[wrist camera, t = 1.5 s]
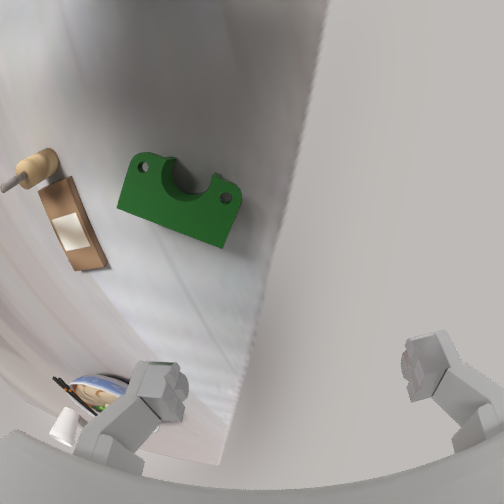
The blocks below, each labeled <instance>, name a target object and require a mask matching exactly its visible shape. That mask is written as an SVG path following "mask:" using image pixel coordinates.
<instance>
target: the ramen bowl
mask: <svg viewBox="0 0 504 504" xmlns="http://www.w3.org/2000/svg"><path fill="white" fill-rule="evenodd" d="M52 379H53V380H54V381H55V382H56V383H57V384H58V385H60V386H61V387H62V388H63V389H64V390H65V391H66V392H67V394H68V396H69V397H70V398H71V399H72V400H73V402H74V403H75V404H76V405H77V406H79V407H80V408H81V409H83V410H84V411H85V412H87V413H88V414H90V415H91V416H93V417H96V416H97V415H98V414H100V413H101V412H102V411H103V410H104V409H106V408H107V407H108V406H109V405H110V404H111V403H113V402H114V401H115V400H116V399H117V398H118V397H120V396H121V395H125V393H126V390H127V388H128V384H127V383H125V382H123V381H121V380H119V379H115V378H111V377H107V376H103V375H86V376H83V377H80V378H78V379H76V380H74V381H73V382H71V383H70V384H69V385H67V384H66V383H65V382H64V381H63V380H62V379H61V378H58V379H57V378H56V377H54V376H53V378H52ZM159 427H160V426H158V427H157V428H156V429H155V430H154V431H153V433H155V432H158V429H159Z"/></svg>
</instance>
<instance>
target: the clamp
mask: <svg viewBox="0 0 504 504" xmlns="http://www.w3.org/2000/svg"><path fill="white" fill-rule="evenodd" d="M176 159H177V158H175V157H162V156H160V155H157V154H154V153H150V152H144V153H139V154H137V155H135V156H134V157H133V158H132V160H131V162H130V165H129V168H128V171H127V174H126V177H125V181H124V184H123V187H122V191H121V194H120V198H119V201H118V205H117V208H118V209H120V210H123V211H125V212H128V213H131V214H133V215H136V216H138V217H141V218H143V219H146V220H149V221H151V222H154V223H156V224H159V225H161V226H164V227H167V228H169V229H172V230H174V231H177V232H180V233H182V234H185V235H187V236H190V237H193V238H195V239H198V240H200V241H203V242H206V243H208V244H211V245H214V246H216V247H219V248H221V249H222V248H223V246H224V243H225V241H226V239H227V236H228V234H229V231H230V229H231V226H232V224H233V222H234V219H235V217H236V214H237V212H238V210H239V207H240V205H241V202H242V193H241V190H240V188H239V187H238V186H237V185H236V184H234V183H232V182H229V181H227V180H224V179H222V178H220V176H221V175H220V174H218V173H215V174H214V175H213V176H212V181H211V185H210V187H209V189H208V190H206V191H205V192H203V193H200V194H188V193H185V192H183V191H181V190H180V189H179V188H178V187H177V186H176V184H175V183H174V180H173V177H172V169H173V165H174V163H175V161H176ZM144 162H146V163H147V164H148V166H149V168H148V171H147V172H145V171H144V170H143V168H142V165H143V163H144ZM225 192H227V193H230V194H231V196H232V199H231V200H230V201H229V202H225V201H223V200H222V199H221V194H222V193H225Z"/></svg>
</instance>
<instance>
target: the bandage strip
mask: <svg viewBox="0 0 504 504" xmlns="http://www.w3.org/2000/svg"><path fill="white" fill-rule="evenodd" d="M38 193H39V196H40V198H41V201H42V203H43V206H44V208H45V211H46V213H47V215H48V218H49V220H50V222H51V224H52V227H53V229H54V231H55V233H56V235H57V237H58V239H59V242H60V244H61V246H62V248H63V250H64V252H65V254H66V256H67V258H68V259H69V261H70V263H71V265H72V267H73V269H74V271H80V270H87V269H94V268H101V267H105V265H106V264H107V262H108V261H107V259H106V257H105V255H104V253H103V251H102V249H101V247H100V245H99V242H98V240H97V238H96V236H95V234H94V231H93V229H92V227H91V224H90V222H89V220H88V217H87V215H86V213H85V210H84V208H83V205H82V203H81V200H80V198H79V195H78V192H77V190H76V187H75V184H74V182H73V179H72V176H70V177H67V178H65V179H62V180H60V181H58V182H55V183H53V184H51V185H48V186H46V187H44V188H42V189H41V190H39V191H38Z"/></svg>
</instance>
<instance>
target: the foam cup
mask: <svg viewBox="0 0 504 504" xmlns="http://www.w3.org/2000/svg"><path fill="white" fill-rule="evenodd" d="M78 420H79V414H78V413H76V412H75V411H73V410H72V409H70V408H67V407H64V409H63V410H62V412H61V414H60V415H59V417H58V419H57V420H56V422H55V424H54V426H53V427H52V428H51V430H50V433H49V434H50V436H52V437H53V438H55V439H56V440H58V441H59V442H61V443H63V444H65V445H67V446H70V447H73V445H74V439H75V434H76V429H77V425H78Z"/></svg>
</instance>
